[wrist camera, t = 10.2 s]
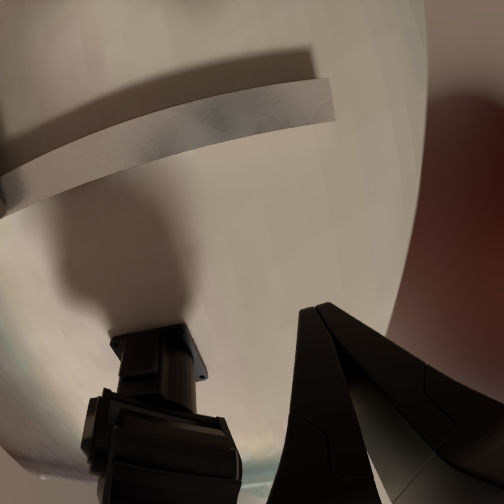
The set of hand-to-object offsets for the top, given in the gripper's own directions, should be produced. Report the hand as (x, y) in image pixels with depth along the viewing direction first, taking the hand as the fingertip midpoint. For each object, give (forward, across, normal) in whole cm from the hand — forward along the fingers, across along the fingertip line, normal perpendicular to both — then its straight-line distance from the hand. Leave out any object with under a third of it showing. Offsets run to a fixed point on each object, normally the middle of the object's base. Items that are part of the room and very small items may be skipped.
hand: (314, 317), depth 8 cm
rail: (+12, +10, -4) cm, 17 cm away
